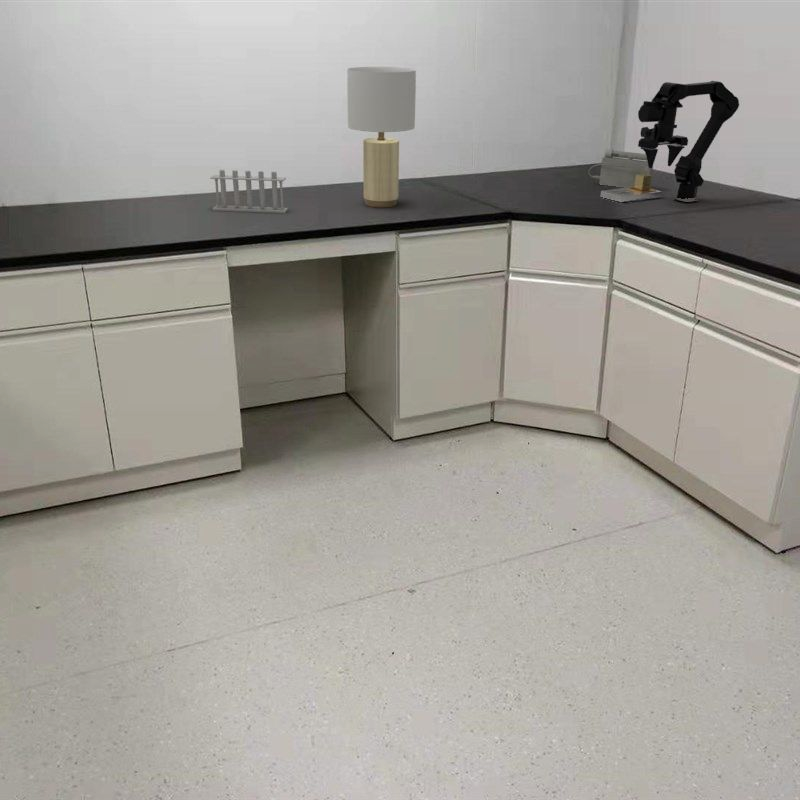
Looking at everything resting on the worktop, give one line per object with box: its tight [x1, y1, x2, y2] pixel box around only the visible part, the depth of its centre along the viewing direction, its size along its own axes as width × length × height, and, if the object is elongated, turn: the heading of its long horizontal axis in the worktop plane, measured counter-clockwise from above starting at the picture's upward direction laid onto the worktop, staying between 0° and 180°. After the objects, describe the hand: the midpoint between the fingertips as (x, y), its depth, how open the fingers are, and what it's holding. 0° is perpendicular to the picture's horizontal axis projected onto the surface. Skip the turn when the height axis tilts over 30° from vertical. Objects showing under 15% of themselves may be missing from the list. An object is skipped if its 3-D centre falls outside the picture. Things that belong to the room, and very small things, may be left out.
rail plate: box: [600, 187, 663, 202], centre depth 309 cm, size 20×11×3 cm, turn 119°
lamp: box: [346, 66, 417, 209], centre depth 284 cm, size 23×23×44 cm
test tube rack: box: [209, 169, 289, 214], centre depth 280 cm, size 25×4×13 cm, turn 85°
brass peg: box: [634, 174, 653, 191], centre depth 310 cm, size 4×4×8 cm
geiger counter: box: [587, 148, 654, 188], centre depth 324 cm, size 14×6×25 cm
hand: (659, 167), depth 295 cm, fingers open, 9 cm apart
